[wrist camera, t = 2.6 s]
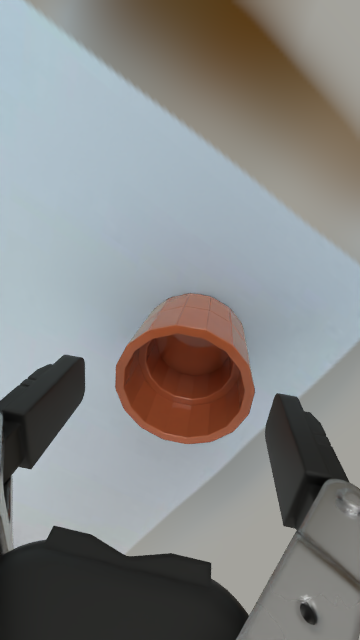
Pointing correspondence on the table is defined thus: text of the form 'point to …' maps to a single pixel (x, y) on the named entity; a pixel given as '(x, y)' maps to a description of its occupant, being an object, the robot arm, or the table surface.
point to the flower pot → (187, 371)
